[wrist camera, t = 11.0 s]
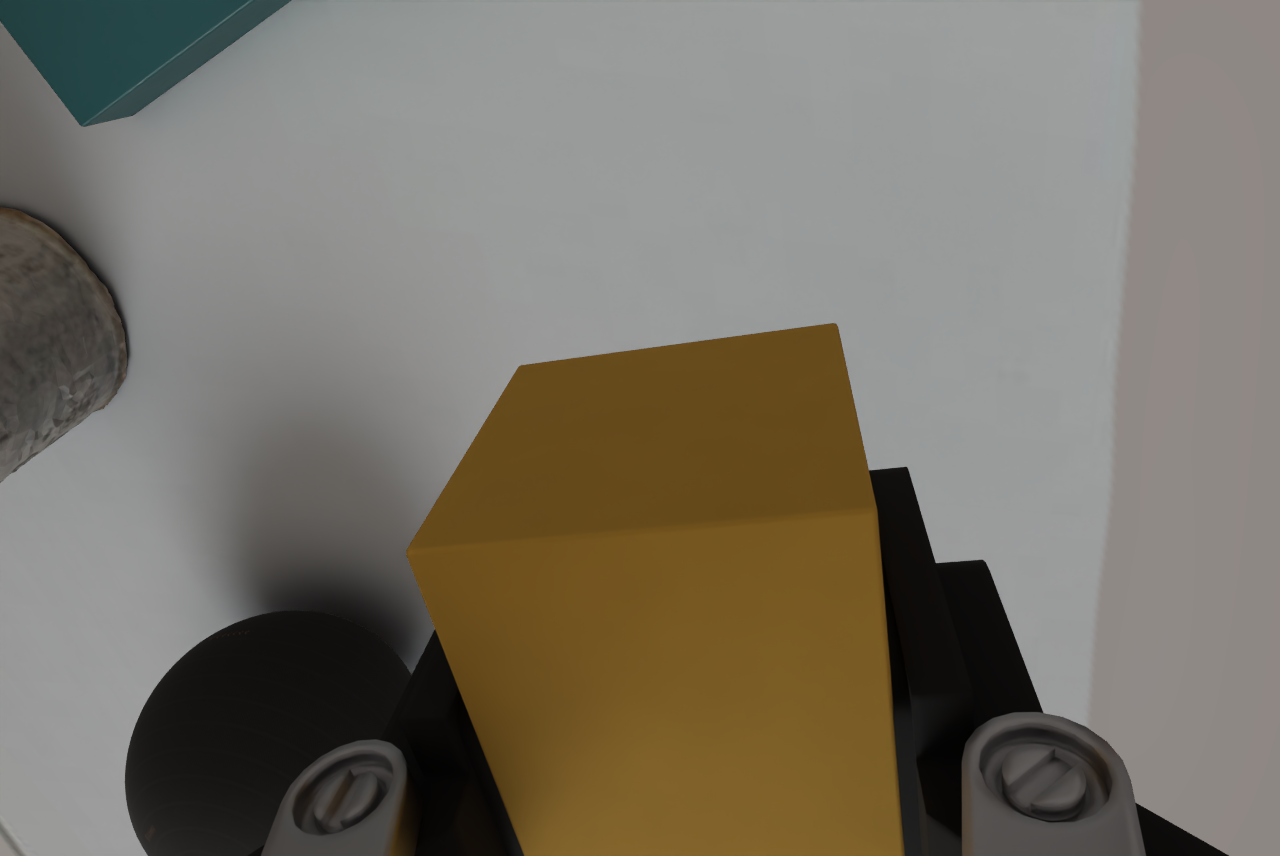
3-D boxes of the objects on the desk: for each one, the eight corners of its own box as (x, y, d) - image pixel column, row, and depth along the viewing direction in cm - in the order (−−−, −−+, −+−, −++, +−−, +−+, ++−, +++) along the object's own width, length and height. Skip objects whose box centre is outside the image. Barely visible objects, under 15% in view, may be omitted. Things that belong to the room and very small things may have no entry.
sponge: (518, 364, 11) (403, 551, 7) (836, 320, 10) (877, 509, 7) (627, 749, 14) (583, 1010, 10) (877, 740, 13) (918, 1018, 10)
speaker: (212, 684, 37) (43, 904, 28) (251, 518, 32) (61, 721, 24) (424, 769, 38) (323, 1007, 29) (493, 619, 33) (396, 851, 24)
